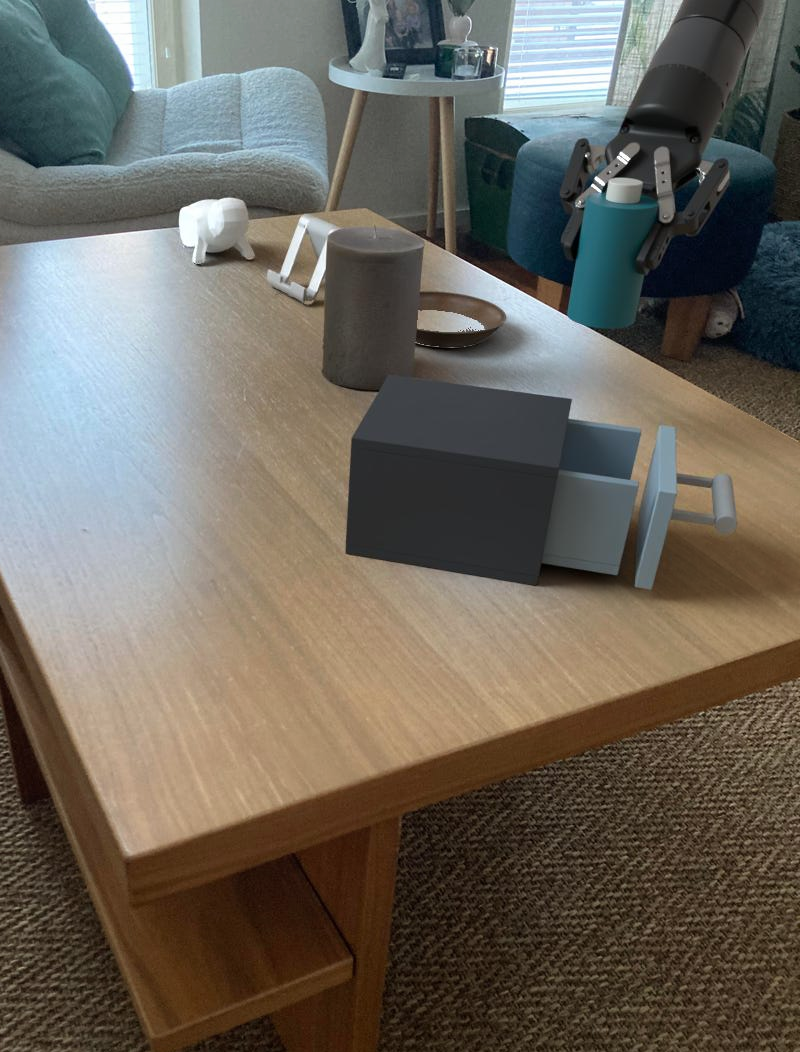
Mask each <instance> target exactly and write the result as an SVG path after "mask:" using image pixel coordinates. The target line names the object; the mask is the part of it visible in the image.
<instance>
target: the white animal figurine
mask: <svg viewBox="0 0 800 1052" xmlns="http://www.w3.org/2000/svg"><path fill="white" fill-rule="evenodd" d="M249 225H250V217H249V211H248V208H247V205H246V203H245V201H244V200H243V199H239V198H236V197H223V198H220V199H213V198H211V199H202V200H198V201H196V202H193V203H191V204H190V205H187V206H183V207H181V208H180V211H179V216H178V227H179V235H180V241H181V242H182V244H184V245H186V246H187V247H186V248H194V249H193V252H192V257H191V258H192V263H193V262H194V263H196V264H197V263H203V264H204V263H205V262H206V252H207V253H221V252H225V251H226V250H229V249H231V248H234V249H235V250H237V251H238V252H239V253H240V255H241V256H242V257H243V256H244V257H246V258H250V257H254V256H255V257H256V254H255V251H254V250H253V248H252V246H251V244H250V243H249V241H248V239H247V238H246V236H245V234H247V232H248V231H249ZM182 246H183V245H182ZM183 248H185V247H184V246H183ZM194 263H193V264H194Z"/></svg>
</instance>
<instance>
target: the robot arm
mask: <svg viewBox="0 0 800 1052" xmlns="http://www.w3.org/2000/svg"><path fill="white" fill-rule="evenodd" d="M766 3H767V0H682V2H681V3H680V6H679V8H678V10H677V12H676V14H675V17H674V19H673V20H672V22H671V25H670V27H669V29H668V31H667V33H666V35H665V37H664V38H663V40H662V41H661V43H660V44H659V46H658V47H657V49H656V51H655V52H654V55H653V56H652V58H651V59H650V63H649V65H648V66H647V68H646V71H645V73H644V75H643V77H642V79H641V81H640V83H639V86H638V88H637V90H636V92H635V94H634V96H633V99H632V100H631V103H630V105H629V106H628V109H627V111H626V113H625V115H624V117H623V120H622V122H621V125H620V128H619V130H618V133H617V134H616V135H615V136H614V138H612V139H610V141H609V142H608V143H607V144H606V145H591V144H590V140H588V138H586V137H582V138H579V139H578V140H576V142H575V144H574V147H573V149H572V150H573V151H572V153H571V156H570V159H569V162H568V165H567V167H566V171H565V175H564V177H563V179H562V183H561V187H560V190H559V197H560V198H559V199H560V201H561V204H562V207H563V210H564V213H565V214H567V215H568V216H569V215H570V217H569V219H568V222H567V224H566V226H565V228H564V230H563V232H562V233H561V237H560V244H561V247H562V250H563V253H564V257H565V259H566V260H569V261H576V257H577V251H578V245H579V239H580V233H581V227H582V221H583V215H584V209H585V203H586V198H587V196H588V195H591V194H594V193H602V192H607V188H608V182H609V180H610V179H612V178H631V179H636V180H640V181H642V182H643V186H642V191H641V195H643V196H647V197H650V198H652V199H655V200H656V201H658V203H659V206H658V211H657V214H658V221H657V222H655V223H653V225H652V227H651V229H650V231H649V233H648V235H647V237H646V240H645V242H644V244H643V246H642V248H641V250H640V252H639V255H638V257H637V260H636V267H637V272H638V274H642V275H644V276H648V274H649V272H650V270H652V271H654V270H656V269H657V268H658V267H659V266H660V264H661V261H662V259H663V257H664V254H665V253H666V251H667V249H668V246H669V244H670V242H671V240H672V239H673V238H675V237H676V236H680V235H686V236H687V237H689V238H693V237H696V236H697V235H698V234H699V233H700V231H701V230H702V228H703V227H704V225H705V224H706V222H707V220H708V219H709V217H710V216H711V215H712V213H713V211H714V209H715V208H716V206H717V204H718V203H719V201H720V200H721V198H722V197H723V195H724V194H725V192H726V190H727V188H728V187H729V185H730V184H731V182H730V181H731V179H730V176H731V175H730V163H729V161H728V159H726V158H724V157H723V158H718V159H716V160H715V161H714V162H712V161H709V160H706V159H703V154H705V151H706V148H707V147H708V144H709V143H710V141H711V138H712V136H713V134H714V132H715V130H716V127H717V125H718V123H719V121H720V119H721V117H722V115H723V112H724V111H725V108H726V107H727V106H728V105H729V102H730V100H731V97H732V94H733V91H734V88H735V86H736V84H737V81H738V78H739V74H740V72H741V68H742V65H743V63H744V61H745V59H746V56H747V54H748V52H749V50H750V47H751V46H752V43H753V41H754V39H755V37H756V34H757V32H758V30H759V28H760V25H761V23H762V21H763V19H764V16H765V12H766V5H767V4H766ZM601 163H606V167H604V169H602V170H601V171H600V172H599V173H598V174H597V175H596V176H595V177H594V179H593V182H592V184H591V185H590V186H589V187H588V188H587V189H585V188H586V185H587V181H588V178H589V176H590V175H593V174H594V173H595V171H596V170H597V168H598V166H599V165H600V164H601ZM697 177H698V187H697V189H696V191H695V192H694V194H693V195H692V197H691V199H690V200H689V202H688V204H687V205H686V207H685V208H684V209H683V210H682V211H676V204H675V202H676V201H675V192H677V191H678V190H680V189H682V188H683V187H685V186H686V185H687V184H689V183H690V182H692V181H693V180H695V179H696V178H697Z"/></svg>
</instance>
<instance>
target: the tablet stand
mask: <svg viewBox="0 0 800 1052" xmlns="http://www.w3.org/2000/svg"><path fill="white" fill-rule="evenodd" d="M338 229H344V228H342V227H340V226H337V225H336V224H333V223H332V222H329V221H327V220H324V219H322V218H320V217H316V216H314V215H312V214H311V213H303V214H302V215H301V216H300V217H299V219H298V223H297V226H296V227H295V231H294V234H293V236H292V239H291V242H290V244H289V247H288V250H287V252H286V256H285V259H284V261H283V264H282V266H281V269H280V272H279V273H277V272H276V271H274V270H273V269H268V270H267V274H266V283H267V284H268V285H269V284H270V285H272V286H274V287H275V288H277V289H279V290H281V291H283V292H285V293H287V294H289V295H291V296H293V297H295V298H296V299H298V300H300V301H302V302H303V303H304V302H305V300H306V301H312V300H315V301H316V299H317V296H318V294H319V291H320V289H321V286H322V283H323V281H324V278H325V272H326V249H327V238H328V235H329V234H330V233H332V232H333V231H336V230H338ZM307 235H308V236H309V240H310V242H311V245H312V248H313V252H314V254H315V257H316V260H317V263H316V265H315V269H314V271H313V274H312V276H311V279H310V281H309V284H308V286H307V287H304V286H302V285H301V284H299V283H297V282H295V281H290V284H289V280H290V277H291V275H292V271H293V269H294V266H295V264H296V261H297V258H298V256H299V252H300V250H301V247H302V244H303V242H304V239H305V237H306V236H307ZM270 285H269V286H270ZM272 286H271V287H272ZM277 289H276V290H277ZM279 290H278V291H279ZM281 291H280V292H281ZM283 292H282V293H283ZM285 293H284V294H285ZM287 294H286V295H287ZM296 299H295V300H296ZM298 300H297V301H298ZM303 303H301V304H302V305H304V304H303ZM312 305H313V304H310V305H307V307H309V306H312Z"/></svg>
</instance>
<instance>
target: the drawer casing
mask: <svg viewBox="0 0 800 1052" xmlns="http://www.w3.org/2000/svg"><path fill="white" fill-rule="evenodd" d="M572 403H573V398H569V397H560V396H553V395H546V394H538V393H532V392H524V391H516V390H508V389H501V388H493V387H486V386H479V385H471V384H465V383H464V384H463V383H455V382H448V381H442V380H441V381H440V380H432V379H425V378H419V377H412V378H411V377H404V376H396V375H388V377H387V379H386V380H385V382H384V384H383V386H382V387H381V389H380V390H378V392H377V394H376V395H375V397H374V399H373V401H372V402H371V404H370V405H369V407H368V409H367V410H366V412H365V414H364V415H363V418H362V419H361V421H360V422H359V424H358V426H357V427H356V429H355V430H354V433H353V434H352V436H351V439H350V440H351V441H350V457H349V475H348V476H349V477H348V493H347V510H346V511H347V512H346V513H347V514H346V528H345V529H346V531H345V549H344V550H345V551H344V552H345V554H348V555H354V556H359V557H365V558H371V559H376V560H377V559H378V560H383V561H387V562H388V561H389V562H395V563H400V564H407V565H413V566H417V567H425V568H430V569H436V570H443V571H449V572H454V573H459V574H466V575H471V576H479V577H483V578H489V579H495V580H501V581H507V582H513V583H518V584H519V583H520V584H524V585H530V586H531V585H532V586H538V583H539V579H540V578H539V577H540V573H541V569H542V568H541V567H542V563H541V562H542V557H543V552H544V546H545V541H546V535H547V530H548V525H549V519H550V514H551V509H552V503H553V498H554V492H555V487H556V482H557V476H558V471H559V466H560V460H561V455H562V450H563V445H564V439H565V434H566V429H567V424H568V419H570V414H571V413H570V412H571V407H572Z"/></svg>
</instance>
